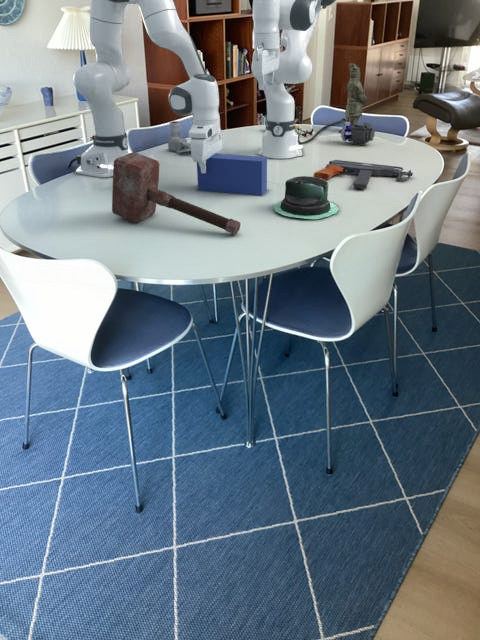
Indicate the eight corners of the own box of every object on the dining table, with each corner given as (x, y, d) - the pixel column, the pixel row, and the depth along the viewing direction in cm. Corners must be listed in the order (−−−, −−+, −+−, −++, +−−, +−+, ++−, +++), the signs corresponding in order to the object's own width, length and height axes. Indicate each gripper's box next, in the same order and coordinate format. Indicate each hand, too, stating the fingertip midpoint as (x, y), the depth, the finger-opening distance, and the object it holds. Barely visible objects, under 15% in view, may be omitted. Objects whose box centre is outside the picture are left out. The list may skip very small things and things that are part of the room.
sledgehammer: (250, 194, 153) (132, 150, 165) (234, 205, 146) (112, 158, 158) (240, 249, 164) (129, 203, 175) (224, 261, 156) (110, 213, 168)
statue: (367, 132, 266) (374, 63, 251) (349, 133, 264) (355, 64, 249) (357, 127, 275) (362, 61, 260) (339, 129, 273) (344, 62, 258)
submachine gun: (306, 175, 196) (332, 158, 214) (306, 183, 197) (332, 166, 216) (396, 187, 182) (415, 168, 201) (395, 195, 183) (414, 175, 202)
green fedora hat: (344, 197, 179) (337, 220, 163) (293, 220, 188) (282, 244, 171) (324, 156, 174) (314, 175, 157) (272, 181, 182) (259, 202, 166)
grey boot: (176, 119, 242) (200, 124, 233) (178, 147, 248) (202, 152, 239) (161, 122, 236) (185, 127, 227) (163, 150, 242) (187, 156, 234)
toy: (345, 120, 249) (377, 123, 242) (343, 139, 253) (375, 143, 246) (337, 123, 243) (369, 127, 236) (336, 143, 247) (367, 147, 240)
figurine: (302, 128, 254) (260, 115, 266) (300, 145, 258) (258, 131, 270) (318, 123, 263) (276, 111, 275) (315, 139, 267) (274, 127, 279)
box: (198, 190, 193) (196, 156, 187) (204, 185, 198) (203, 152, 192) (261, 195, 186) (261, 161, 181) (266, 190, 191) (267, 156, 186)
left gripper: (209, 121, 194) (211, 161, 201) (186, 133, 177) (189, 176, 184) (226, 121, 192) (228, 162, 199) (204, 134, 175) (206, 177, 182)
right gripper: (266, 45, 174) (266, 92, 181) (283, 40, 190) (282, 83, 197) (247, 45, 175) (247, 91, 182) (265, 40, 192) (265, 83, 199)
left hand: (209, 169), depth 191 cm, fingers open, 8 cm apart
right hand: (265, 87), depth 190 cm, fingers open, 8 cm apart
